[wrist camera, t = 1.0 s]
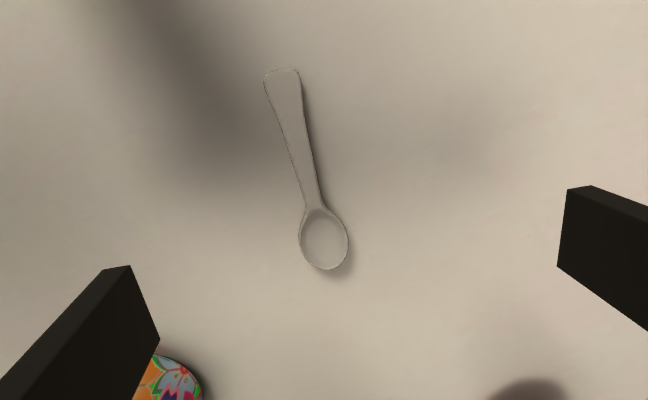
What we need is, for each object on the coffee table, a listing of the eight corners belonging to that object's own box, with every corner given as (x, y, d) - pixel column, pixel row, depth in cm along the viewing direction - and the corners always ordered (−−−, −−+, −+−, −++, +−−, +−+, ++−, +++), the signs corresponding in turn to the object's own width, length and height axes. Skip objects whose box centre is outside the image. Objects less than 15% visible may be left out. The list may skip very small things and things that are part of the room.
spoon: (307, 266, 22) (308, 282, 20) (253, 78, 18) (249, 76, 17) (351, 255, 22) (356, 269, 20) (306, 65, 19) (307, 61, 17)
